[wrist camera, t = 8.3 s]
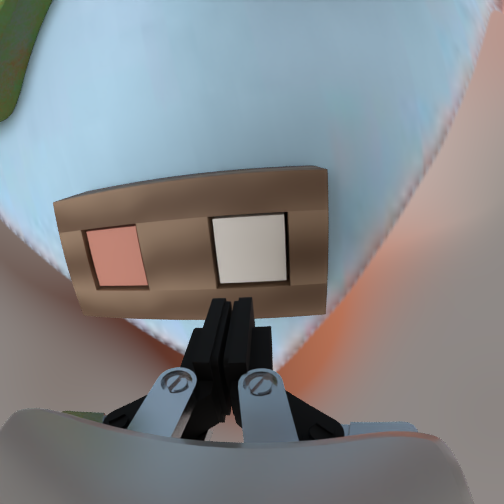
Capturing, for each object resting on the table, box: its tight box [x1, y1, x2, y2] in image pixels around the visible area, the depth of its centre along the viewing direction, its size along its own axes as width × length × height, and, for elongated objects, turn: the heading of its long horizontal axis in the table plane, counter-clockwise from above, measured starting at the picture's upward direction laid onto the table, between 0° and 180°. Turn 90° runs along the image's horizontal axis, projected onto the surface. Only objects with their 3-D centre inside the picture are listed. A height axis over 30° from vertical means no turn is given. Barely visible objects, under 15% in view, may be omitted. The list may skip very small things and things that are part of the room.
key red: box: [87, 224, 148, 286], centre depth 25 cm, size 5×5×4 cm
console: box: [53, 166, 328, 320], centre depth 25 cm, size 12×24×6 cm, turn 94°
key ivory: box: [212, 212, 286, 283], centre depth 24 cm, size 5×5×4 cm
